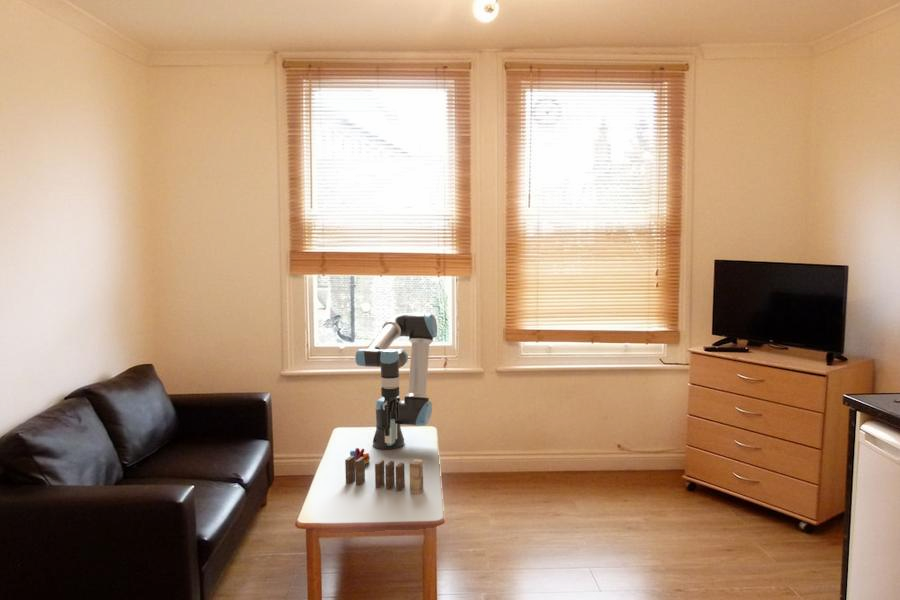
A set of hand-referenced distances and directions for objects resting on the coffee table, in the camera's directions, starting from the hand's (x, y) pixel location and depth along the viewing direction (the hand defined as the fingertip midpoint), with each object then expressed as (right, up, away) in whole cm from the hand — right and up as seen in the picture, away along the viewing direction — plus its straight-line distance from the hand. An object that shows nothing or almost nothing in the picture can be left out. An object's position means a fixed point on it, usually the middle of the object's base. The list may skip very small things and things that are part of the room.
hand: (391, 440), depth 258 cm
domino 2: (-12, -16, -8) cm, 21 cm away
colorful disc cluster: (-16, -14, +13) cm, 25 cm away
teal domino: (0, -1, 0) cm, 1 cm away
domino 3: (-3, -16, -11) cm, 20 cm away
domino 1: (-16, -15, -6) cm, 23 cm away
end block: (+12, -16, -16) cm, 26 cm away
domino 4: (+1, -16, -12) cm, 20 cm away
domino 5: (+5, -16, -14) cm, 22 cm away
